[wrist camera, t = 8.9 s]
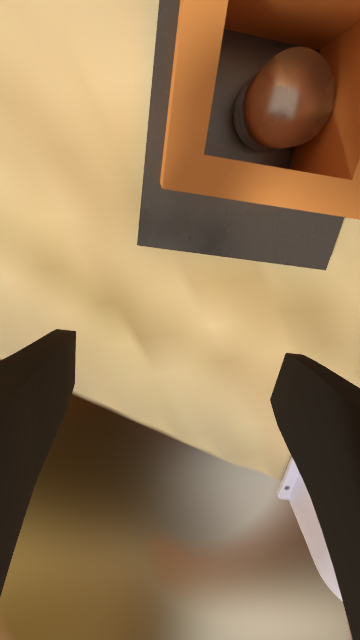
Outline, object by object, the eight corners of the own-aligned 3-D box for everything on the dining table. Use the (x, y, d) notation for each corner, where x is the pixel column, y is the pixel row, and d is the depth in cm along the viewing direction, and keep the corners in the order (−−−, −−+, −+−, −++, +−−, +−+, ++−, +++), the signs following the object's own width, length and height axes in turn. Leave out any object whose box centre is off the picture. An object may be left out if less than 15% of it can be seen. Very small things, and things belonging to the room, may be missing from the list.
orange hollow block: (301, 205, 17) (370, 221, 12) (159, 182, 16) (162, 188, 11) (354, 21, 14) (482, -74, 8) (182, -20, 13) (202, -157, 7)
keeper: (317, 265, 20) (357, 288, 16) (138, 241, 18) (133, 260, 14) (422, -49, 14) (524, -132, 10) (171, -119, 12) (178, -245, 9)
